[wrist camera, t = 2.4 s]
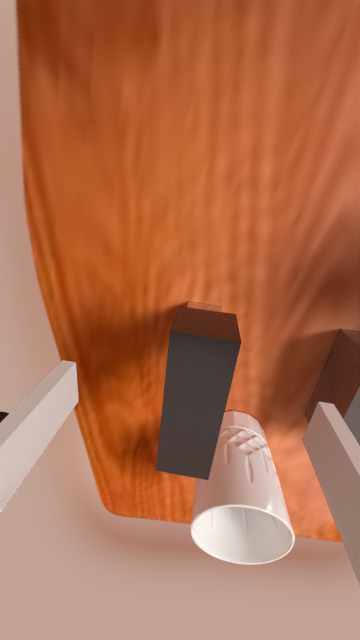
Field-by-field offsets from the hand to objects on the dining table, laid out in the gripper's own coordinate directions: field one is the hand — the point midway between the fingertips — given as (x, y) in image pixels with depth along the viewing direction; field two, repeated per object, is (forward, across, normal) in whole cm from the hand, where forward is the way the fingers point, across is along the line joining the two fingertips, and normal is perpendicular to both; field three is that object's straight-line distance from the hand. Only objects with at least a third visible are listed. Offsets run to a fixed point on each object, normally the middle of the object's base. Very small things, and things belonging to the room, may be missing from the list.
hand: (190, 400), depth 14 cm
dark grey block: (+11, 0, 0) cm, 11 cm away
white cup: (+11, +6, -13) cm, 18 cm away
